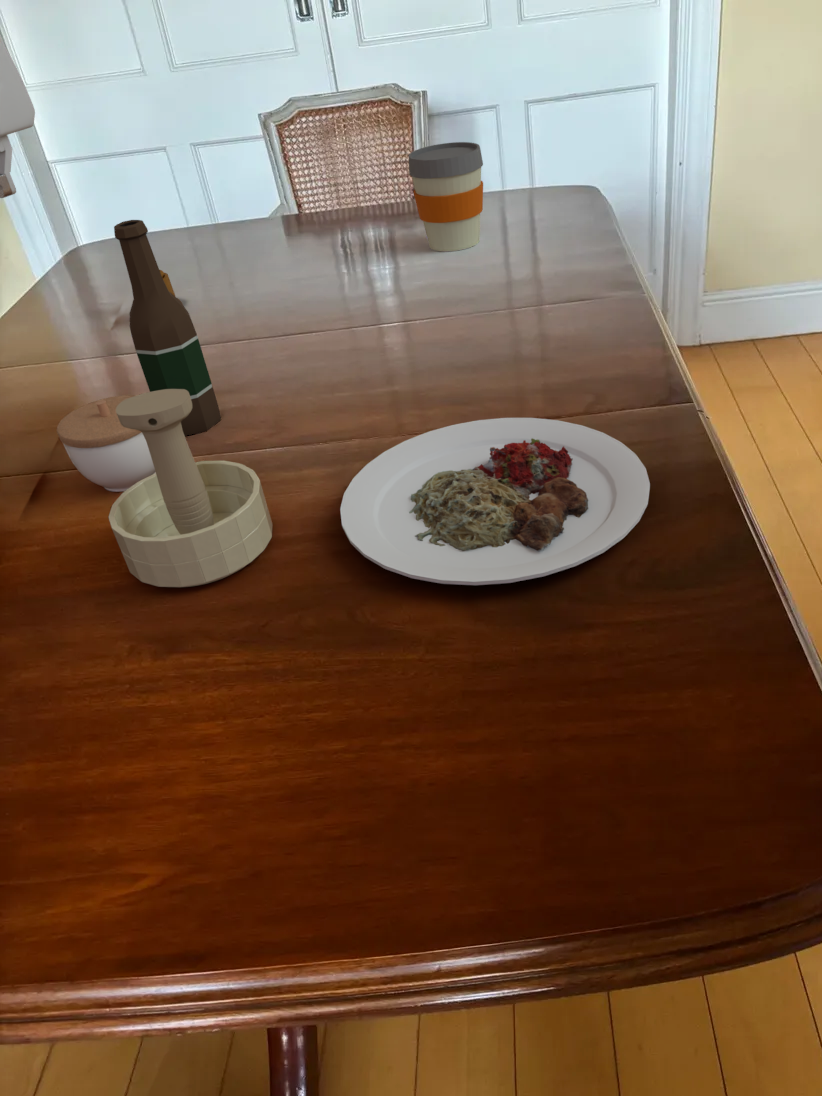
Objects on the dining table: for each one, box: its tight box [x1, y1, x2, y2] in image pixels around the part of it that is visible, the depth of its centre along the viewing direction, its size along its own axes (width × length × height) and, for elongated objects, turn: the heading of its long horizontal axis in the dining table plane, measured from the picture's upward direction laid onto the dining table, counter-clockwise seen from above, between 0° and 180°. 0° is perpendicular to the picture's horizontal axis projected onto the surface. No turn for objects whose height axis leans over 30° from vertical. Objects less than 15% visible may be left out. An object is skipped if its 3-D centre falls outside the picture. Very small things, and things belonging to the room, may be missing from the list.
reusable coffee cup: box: [408, 141, 484, 252], centre depth 154 cm, size 13×13×15 cm
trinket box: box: [56, 394, 156, 493], centre depth 99 cm, size 11×11×9 cm
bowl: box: [107, 460, 274, 588], centre depth 86 cm, size 14×14×6 cm
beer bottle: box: [113, 219, 222, 437], centre depth 105 cm, size 8×8×24 cm
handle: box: [116, 389, 214, 535], centre depth 83 cm, size 5×6×15 cm
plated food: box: [339, 417, 651, 586], centre depth 87 cm, size 30×30×3 cm
